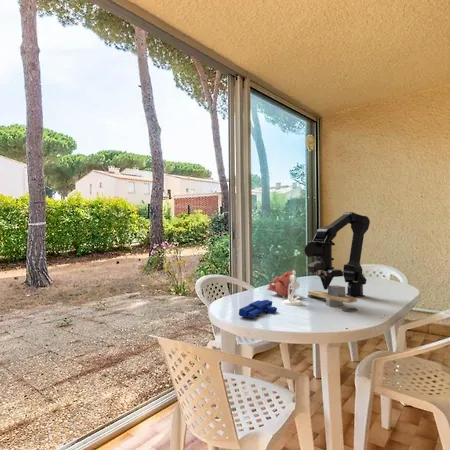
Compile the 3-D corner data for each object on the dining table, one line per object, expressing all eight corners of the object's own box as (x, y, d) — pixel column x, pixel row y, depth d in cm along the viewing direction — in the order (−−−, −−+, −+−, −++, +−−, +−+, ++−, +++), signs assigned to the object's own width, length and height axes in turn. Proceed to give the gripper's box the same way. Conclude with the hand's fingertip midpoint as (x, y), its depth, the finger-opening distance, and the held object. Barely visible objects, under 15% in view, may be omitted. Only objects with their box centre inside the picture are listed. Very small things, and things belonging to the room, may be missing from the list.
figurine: (302, 305, 149) (302, 271, 148) (282, 305, 150) (281, 271, 150) (301, 301, 157) (301, 268, 157) (282, 300, 159) (282, 268, 159)
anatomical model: (294, 269, 165) (264, 269, 170) (294, 295, 161) (262, 294, 166) (297, 273, 174) (268, 273, 179) (296, 298, 170) (267, 297, 175)
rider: (335, 294, 152) (335, 285, 152) (345, 296, 145) (345, 286, 146) (328, 295, 151) (327, 285, 151) (337, 296, 144) (337, 287, 144)
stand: (319, 295, 168) (319, 291, 168) (359, 310, 139) (359, 304, 139) (306, 296, 166) (306, 292, 166) (344, 312, 137) (344, 306, 137)
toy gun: (283, 301, 145) (262, 295, 150) (260, 313, 126) (237, 306, 132) (282, 311, 145) (261, 304, 150) (259, 324, 127) (236, 316, 132)
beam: (317, 293, 167) (317, 290, 168) (357, 301, 139) (357, 298, 139) (308, 294, 166) (308, 291, 166) (346, 302, 137) (346, 299, 137)
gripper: (299, 254, 163) (299, 287, 163) (321, 258, 145) (321, 295, 145) (319, 253, 166) (320, 285, 166) (343, 257, 148) (344, 293, 148)
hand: (325, 289), depth 156 cm, fingers closed
